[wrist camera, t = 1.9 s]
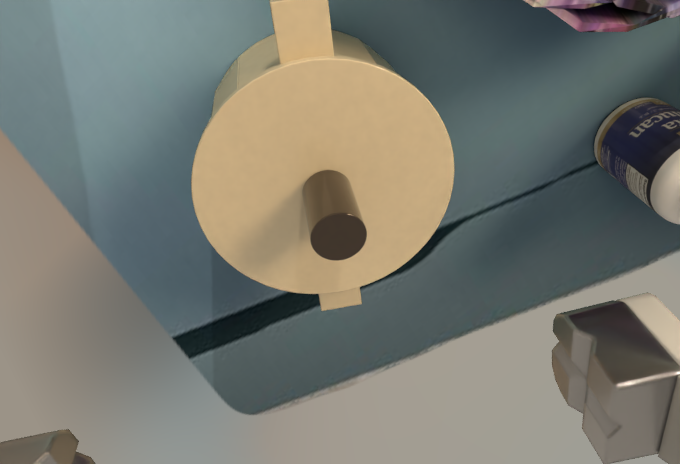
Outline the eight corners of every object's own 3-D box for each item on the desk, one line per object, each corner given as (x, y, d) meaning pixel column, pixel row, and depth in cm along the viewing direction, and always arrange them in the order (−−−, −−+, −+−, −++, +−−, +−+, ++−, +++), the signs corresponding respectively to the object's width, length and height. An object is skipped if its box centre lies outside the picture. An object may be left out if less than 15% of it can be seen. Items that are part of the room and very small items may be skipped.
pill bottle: (661, 78, 34) (790, 141, 26) (675, 144, 37) (795, 219, 29) (581, 123, 35) (682, 197, 27) (601, 184, 38) (697, 267, 30)
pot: (243, 257, 37) (242, 334, 31) (174, -11, 28) (153, 22, 21) (409, 228, 38) (441, 298, 32) (398, -42, 28) (441, -19, 22)
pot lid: (225, 299, 30) (222, 368, 26) (159, 75, 23) (140, 119, 19) (447, 260, 31) (479, 321, 27) (448, 31, 24) (492, 65, 20)
